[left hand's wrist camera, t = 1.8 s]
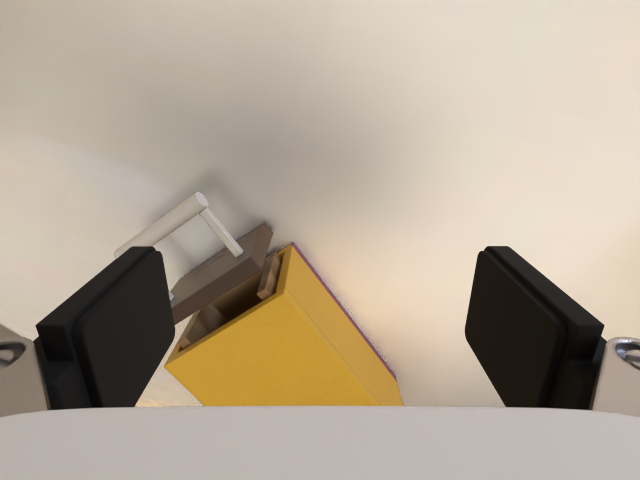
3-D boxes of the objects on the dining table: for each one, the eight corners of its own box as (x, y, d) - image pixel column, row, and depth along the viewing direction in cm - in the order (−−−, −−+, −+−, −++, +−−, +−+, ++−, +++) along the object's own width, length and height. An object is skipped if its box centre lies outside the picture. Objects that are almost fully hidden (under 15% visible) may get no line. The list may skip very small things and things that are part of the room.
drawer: (136, 233, 31) (88, 271, 25) (224, 169, 29) (197, 192, 23) (290, 400, 38) (284, 463, 32) (370, 357, 36) (381, 415, 30)
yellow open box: (199, 302, 35) (162, 366, 27) (293, 242, 33) (284, 292, 25) (309, 420, 41) (306, 504, 32) (395, 376, 38) (416, 454, 30)
